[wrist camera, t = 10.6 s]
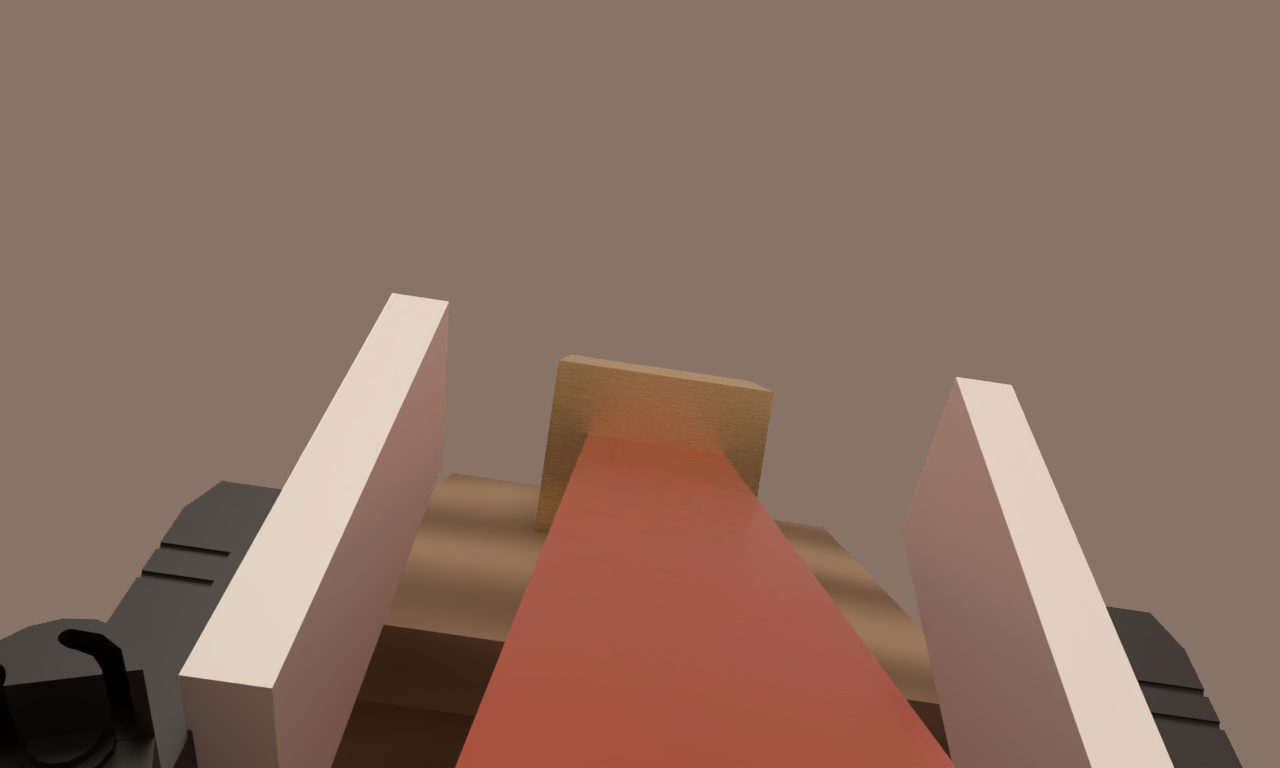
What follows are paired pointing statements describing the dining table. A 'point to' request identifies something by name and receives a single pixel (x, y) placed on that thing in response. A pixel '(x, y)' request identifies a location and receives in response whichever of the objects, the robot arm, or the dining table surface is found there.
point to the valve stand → (488, 602)
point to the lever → (677, 601)
